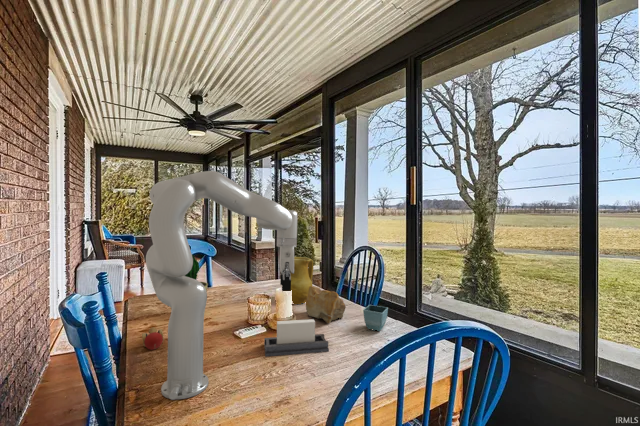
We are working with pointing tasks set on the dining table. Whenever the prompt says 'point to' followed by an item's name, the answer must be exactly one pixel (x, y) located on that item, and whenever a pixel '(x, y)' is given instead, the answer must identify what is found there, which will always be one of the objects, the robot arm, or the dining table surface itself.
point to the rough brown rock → (324, 304)
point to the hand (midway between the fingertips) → (285, 287)
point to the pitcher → (301, 279)
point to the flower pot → (375, 317)
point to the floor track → (295, 346)
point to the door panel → (295, 331)
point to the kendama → (153, 338)
